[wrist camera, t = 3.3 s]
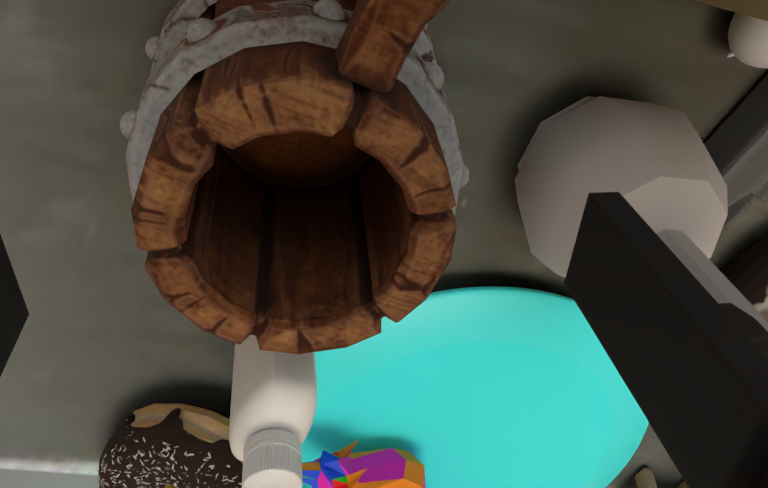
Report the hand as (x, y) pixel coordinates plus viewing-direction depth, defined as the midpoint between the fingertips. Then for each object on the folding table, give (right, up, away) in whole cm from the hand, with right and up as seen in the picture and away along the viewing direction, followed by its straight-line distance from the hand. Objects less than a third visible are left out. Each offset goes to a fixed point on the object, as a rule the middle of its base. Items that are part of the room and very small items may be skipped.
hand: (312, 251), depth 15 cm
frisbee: (+6, -13, +27) cm, 30 cm away
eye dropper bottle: (-4, -3, +20) cm, 20 cm away
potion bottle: (+12, +4, +17) cm, 21 cm away
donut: (-9, -13, +23) cm, 28 cm away
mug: (-2, +8, +13) cm, 15 cm away
